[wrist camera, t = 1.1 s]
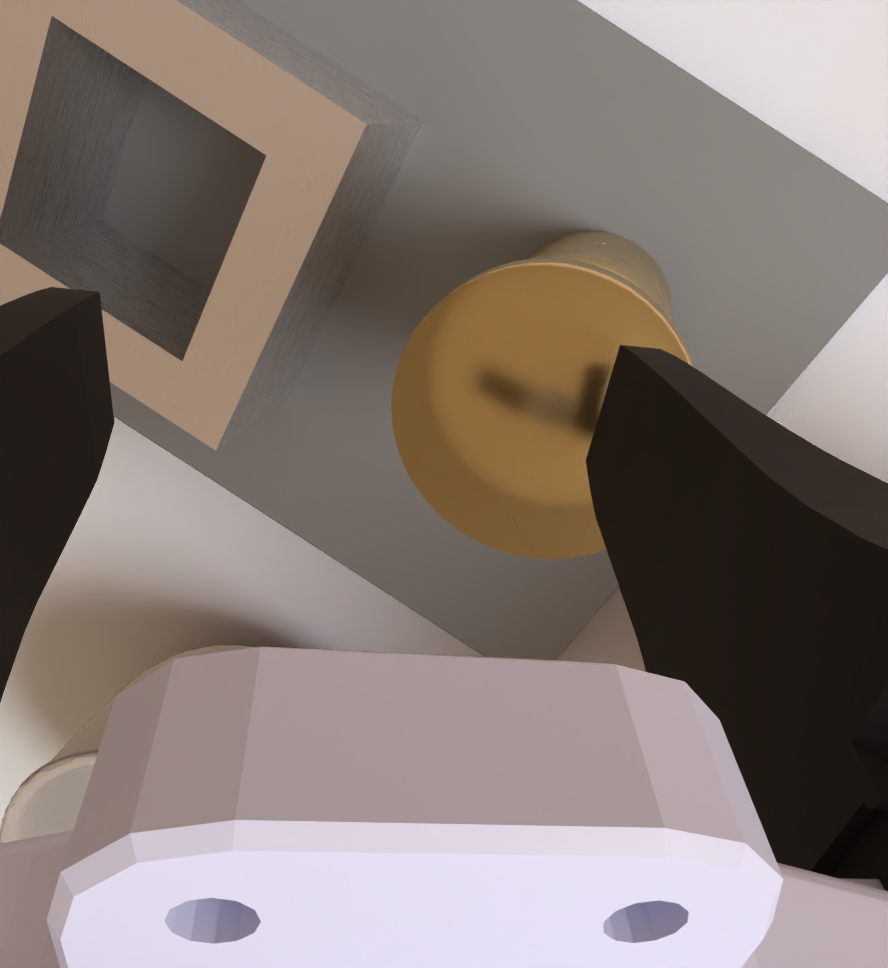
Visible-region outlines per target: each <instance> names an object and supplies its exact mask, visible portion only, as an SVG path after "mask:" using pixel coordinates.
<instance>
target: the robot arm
mask: <svg viewBox="0 0 888 968" xmlns="http://www.w3.org/2000/svg"><path fill="white" fill-rule="evenodd" d="M113 425H114V416H113V407H112V398H111V389H110V380H109V371H108V362H107V353H106V344H105V335H104V326H103V317H102V308H101V299H100V292H96V291H86V290H76V289H67V288H57V287H50V288H46V289H42V290H38V291H35V292H33V293H30V294H27V295H25V296H22V297H20V298H17V299H15V300H12V301H10V302H8V303H5V304H3V305H1V306H0V702H1V699H2V695H3V692H4V689H5V687H6V684H7V681H8V678H9V675H10V672H11V669H12V666H13V663H14V661H15V658H16V655H17V652H18V649H19V646H20V643H21V640H22V637H23V635H24V632H25V629H26V627H27V625H28V622H29V620H30V618H31V615H32V613H33V611H34V608H35V606H36V604H37V601H38V599H39V597H40V595H41V593H42V591H43V589H44V587H45V585H46V583H47V581H48V579H49V577H50V575H51V573H52V571H53V569H54V567H55V565H56V563H57V561H58V559H59V557H60V555H61V553H62V551H63V549H64V547H65V545H66V543H67V541H68V539H69V537H70V535H71V533H72V531H73V529H74V527H75V525H76V523H77V521H78V519H79V516H80V514H81V512H82V510H83V508H84V506H85V504H86V502H87V500H88V498H89V496H90V494H91V492H92V489H93V487H94V485H95V483H96V481H97V478H98V475H99V472H100V469H101V466H102V463H103V460H104V456H105V453H106V450H107V446H108V443H109V439H110V435H111V432H112V428H113ZM586 466H587V473H588V479H589V486H590V492H591V497H592V502H593V507H594V513H595V517H596V520H597V523H598V526H599V529H600V532H601V535H602V538H603V541H604V544H605V547H606V550H607V553H608V556H609V559H610V562H611V564H612V567H613V570H614V573H615V576H616V579H617V582H618V584H619V587H620V590H621V593H622V596H623V599H624V602H625V604H626V607H627V610H628V613H629V616H630V619H631V622H632V624H633V627H634V630H635V633H636V636H637V640H638V643H639V647H640V650H641V653H642V657H643V661H644V665H645V670H646V672H644V671H640V670H636V669H632V668H628V667H624V666H620V665H616V664H612V663H602V662H581V661H560V660H538V659H517V658H495V657H474V656H453V655H431V654H410V653H388V652H367V651H346V650H324V649H303V648H281V647H255V648H248V649H240V650H233V651H225V652H218V653H210V654H203V655H195V656H188V657H183V658H178V659H174V660H172V661H171V662H169V663H168V664H166V665H165V666H163V667H161V668H160V669H158V670H157V671H155V672H154V673H152V674H150V675H149V676H147V677H146V678H144V679H143V680H141V681H139V682H138V683H136V684H135V685H133V686H132V687H130V688H129V689H127V690H125V691H124V692H122V693H121V694H119V695H118V696H116V697H115V700H114V703H113V706H112V710H111V713H110V716H109V719H108V722H107V725H106V729H105V732H104V735H103V738H102V741H101V745H100V748H99V751H98V754H97V757H96V760H95V764H94V767H93V770H92V773H91V776H90V780H89V783H88V786H87V789H86V792H85V795H84V799H83V802H82V805H81V808H80V811H79V815H78V818H77V821H76V824H75V827H74V830H71V831H66V832H60V833H55V834H49V835H44V836H38V837H33V838H27V839H22V840H16V841H11V842H5V843H0V968H888V483H886V482H883V481H881V480H879V479H877V478H875V477H873V476H871V475H869V474H867V473H865V472H863V471H861V470H859V469H857V468H855V467H853V466H851V465H849V464H847V463H845V462H844V461H842V460H840V459H838V458H836V457H834V456H832V455H831V454H829V453H827V452H825V451H823V450H822V449H820V448H818V447H816V446H815V445H813V444H811V443H810V442H808V441H806V440H805V439H803V438H801V437H800V436H798V435H796V434H795V433H793V432H791V431H790V430H788V429H786V428H785V427H783V426H782V425H780V424H778V423H777V422H775V421H774V420H772V419H771V418H769V417H767V416H766V415H764V414H763V413H761V412H760V411H758V410H757V409H755V408H754V407H752V406H751V405H749V404H748V403H746V402H745V401H743V400H742V399H740V398H739V397H737V396H736V395H734V394H733V393H731V392H730V391H728V390H727V389H725V388H724V387H723V386H721V385H720V384H718V383H717V382H715V381H714V380H712V379H711V378H709V377H708V376H706V375H705V374H703V373H702V372H700V371H699V370H697V369H696V368H694V367H693V366H691V365H689V364H688V363H686V362H685V361H683V360H681V359H680V358H678V357H676V356H674V355H672V354H671V353H668V352H666V351H664V350H662V349H657V348H647V347H637V346H627V345H620V347H619V350H618V353H617V357H616V360H615V363H614V367H613V370H612V373H611V377H610V380H609V384H608V387H607V390H606V394H605V397H604V400H603V404H602V407H601V411H600V414H599V417H598V421H597V424H596V427H595V431H594V434H593V437H592V441H591V444H590V448H589V451H588V454H587V458H586Z"/></svg>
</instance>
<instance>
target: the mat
mask: <svg viewBox="0 0 888 968" xmlns="http://www.w3.org/2000/svg"><path fill="white" fill-rule="evenodd" d="M238 1H240V2H241V3H243V4H244V5H246V6H248V7H249V8H251V9H252V10H254V11H255V12H257V13H258V14H260V15H261V16H263V17H264V18H266V19H267V20H269V21H271V22H272V23H274V24H275V25H277V26H278V27H280V28H281V29H283V30H284V31H286V32H287V33H289V34H291V35H292V36H294V37H295V38H297V39H298V40H300V41H301V42H303V43H304V44H306V45H307V46H309V47H310V48H312V49H314V50H315V51H317V52H318V53H320V54H321V55H323V56H324V57H326V58H327V59H329V60H330V61H332V62H334V63H335V64H337V65H338V66H340V67H341V68H343V69H344V70H346V71H347V72H349V73H350V74H352V75H353V76H355V77H357V78H358V79H360V80H361V81H363V82H364V83H366V84H367V85H369V86H370V87H372V88H373V89H375V90H376V91H378V92H380V93H381V94H383V95H384V96H386V97H387V98H389V99H390V100H392V101H393V102H395V103H396V104H398V105H400V106H401V107H403V108H404V109H406V110H407V111H409V112H410V113H412V114H413V115H415V116H416V117H418V118H419V119H421V120H423V121H424V122H423V124H422V126H421V128H420V130H419V132H418V134H417V136H416V138H415V140H414V142H413V144H412V146H411V148H410V150H409V152H408V154H407V156H406V158H405V160H404V162H403V164H402V166H401V168H400V170H399V172H398V174H397V176H396V178H395V180H394V182H393V184H392V186H391V188H390V190H389V192H388V194H387V196H386V198H385V200H384V202H383V204H382V206H381V208H380V210H379V212H378V214H377V216H376V218H375V220H374V223H373V225H372V227H371V229H370V231H369V233H368V235H367V237H366V239H365V241H364V243H363V245H362V247H361V249H360V251H359V253H358V255H357V257H356V259H355V261H354V263H353V265H352V267H351V269H350V271H349V273H348V275H347V277H346V279H345V281H344V283H343V285H342V287H341V289H340V291H339V293H338V295H337V297H336V299H335V301H334V303H333V305H332V307H331V309H330V311H329V313H328V315H327V317H326V319H325V321H324V323H323V325H322V327H321V329H320V331H319V333H318V335H317V337H316V339H315V341H314V344H313V346H312V348H311V350H310V352H309V354H308V356H307V358H306V360H305V362H304V364H303V366H302V368H301V370H300V372H299V374H298V376H297V378H296V380H295V382H294V384H293V386H292V388H291V390H290V392H289V394H288V396H287V398H286V400H284V401H283V402H282V403H280V404H279V405H278V406H276V407H275V408H273V409H272V410H271V411H269V412H268V413H267V414H265V415H264V416H263V417H261V418H260V419H258V420H257V421H256V422H254V423H253V424H252V425H250V426H249V427H248V428H246V429H245V430H243V431H242V432H241V433H239V434H238V435H237V436H235V437H234V438H233V439H231V440H230V441H228V442H227V443H226V444H224V445H223V446H222V447H220V448H219V449H218V450H214V449H213V448H211V447H209V446H208V445H206V444H205V443H203V442H202V441H200V440H199V439H197V438H196V437H194V436H192V435H191V434H189V433H188V432H186V431H185V430H183V429H182V428H180V427H179V426H177V425H176V424H174V423H172V422H171V421H169V420H168V419H166V418H165V417H163V416H162V415H160V414H159V413H157V412H155V411H154V410H152V409H151V408H149V407H148V406H146V405H145V404H143V403H142V402H140V401H138V400H137V399H135V398H134V397H132V396H131V395H129V394H128V393H126V392H125V391H123V390H121V389H120V388H118V387H117V386H115V385H114V384H112V383H111V382H110V389H111V398H112V407H113V416H114V417H116V418H117V419H119V420H120V421H122V422H123V423H125V424H126V425H128V426H130V427H131V428H133V429H134V430H136V431H137V432H139V433H140V434H142V435H143V436H145V437H147V438H148V439H150V440H151V441H153V442H154V443H156V444H157V445H159V446H160V447H162V448H164V449H165V450H167V451H168V452H170V453H171V454H173V455H174V456H176V457H177V458H179V459H181V460H182V461H184V462H185V463H187V464H188V465H190V466H191V467H193V468H194V469H196V470H197V471H199V472H201V473H202V474H204V475H205V476H207V477H208V478H210V479H211V480H213V481H214V482H216V483H218V484H219V485H221V486H222V487H224V488H225V489H227V490H228V491H230V492H231V493H233V494H235V495H236V496H238V497H239V498H241V499H242V500H244V501H245V502H247V503H248V504H250V505H252V506H253V507H255V508H256V509H258V510H259V511H261V512H262V513H264V514H265V515H267V516H268V517H270V518H272V519H273V520H275V521H276V522H278V523H279V524H281V525H282V526H284V527H285V528H287V529H289V530H290V531H292V532H293V533H295V534H296V535H298V536H299V537H301V538H302V539H304V540H306V541H307V542H309V543H310V544H312V545H313V546H315V547H316V548H318V549H319V550H321V551H323V552H324V553H326V554H327V555H329V556H330V557H332V558H333V559H335V560H336V561H338V562H340V563H341V564H343V565H344V566H346V567H347V568H349V569H350V570H352V571H353V572H355V573H356V574H358V575H360V576H361V577H363V578H364V579H366V580H367V581H369V582H370V583H372V584H373V585H375V586H377V587H378V588H380V589H381V590H383V591H384V592H386V593H387V594H389V595H390V596H392V597H394V598H395V599H397V600H398V601H400V602H401V603H403V604H404V605H406V606H407V607H409V608H411V609H412V610H414V611H415V612H417V613H418V614H420V615H421V616H423V617H424V618H426V619H427V620H429V621H431V622H432V623H434V624H435V625H437V626H438V627H440V628H441V629H443V630H444V631H446V632H448V633H449V634H451V635H452V636H454V637H455V638H457V639H458V640H460V641H461V642H463V643H465V644H466V645H468V646H469V647H471V648H472V649H474V650H475V651H477V652H478V653H480V654H482V655H483V656H485V657H495V658H517V659H538V660H556V659H557V658H558V656H559V655H560V654H561V653H562V652H563V651H564V649H565V648H566V647H567V646H568V645H569V644H570V642H571V641H572V640H573V639H574V638H575V637H576V635H577V634H578V633H579V632H580V631H581V630H582V628H583V627H584V626H585V625H586V624H587V623H588V622H589V620H590V619H591V618H592V617H593V616H594V615H595V613H596V612H597V611H598V610H599V609H600V608H601V606H602V605H603V604H604V603H605V602H606V601H607V599H608V598H609V597H610V596H611V595H612V594H613V592H614V591H615V590H616V589H617V588H618V587H619V584H618V582H617V579H616V576H615V573H614V570H613V567H612V564H611V562H610V559H609V556H608V553H607V550H604V551H601V552H597V553H594V554H591V555H587V556H581V557H575V558H568V559H538V558H529V557H523V556H518V555H513V554H509V553H506V552H503V551H500V550H496V549H494V548H491V547H489V546H487V545H484V544H482V543H480V542H478V541H476V540H474V539H472V538H471V537H469V536H467V535H465V534H464V533H462V532H461V531H459V530H458V529H457V528H455V527H454V526H452V525H451V524H450V523H448V522H447V521H446V520H445V519H444V518H443V517H442V516H441V515H440V514H438V513H437V512H436V511H435V510H434V509H433V508H432V506H431V505H430V504H429V503H428V502H427V501H426V500H425V498H424V497H423V496H422V495H421V493H420V492H419V490H418V489H417V487H416V486H415V484H414V483H413V481H412V480H411V478H410V476H409V474H408V472H407V470H406V468H405V466H404V464H403V461H402V459H401V456H400V453H399V450H398V448H397V444H396V440H395V435H394V431H393V423H392V413H391V405H392V389H393V383H394V377H395V373H396V369H397V366H398V363H399V360H400V357H401V354H402V352H403V350H404V348H405V346H406V344H407V342H408V340H409V338H410V337H411V335H412V333H413V332H414V330H415V329H416V327H417V326H418V324H419V323H420V322H421V321H422V320H423V318H424V317H425V316H426V315H427V314H428V313H429V312H430V310H431V309H432V308H433V307H435V306H436V305H437V304H438V303H439V302H440V301H442V300H443V299H444V298H445V297H446V296H447V295H449V294H450V293H451V292H452V291H454V290H455V289H456V288H457V287H459V286H460V285H462V284H463V283H465V282H466V281H468V280H469V279H471V278H472V277H474V276H476V275H478V274H480V273H482V272H484V271H486V270H489V269H491V268H493V267H496V266H499V265H502V264H506V263H509V262H512V261H518V260H524V259H529V258H530V257H531V256H532V255H533V254H534V253H535V252H536V251H538V250H539V249H540V248H541V247H542V246H544V245H546V244H547V243H549V242H550V241H552V240H554V239H556V238H558V237H561V236H563V235H567V234H570V233H574V232H580V231H604V232H609V233H613V234H617V235H619V236H622V237H624V238H627V239H629V240H630V241H632V242H634V243H636V244H637V245H639V246H640V247H641V248H643V249H644V250H645V251H646V252H647V253H648V254H649V255H650V256H651V257H652V258H653V259H654V260H655V262H656V263H657V264H658V266H659V267H660V269H661V271H662V273H663V274H664V276H665V279H666V281H667V284H668V286H669V290H670V295H671V301H672V322H673V323H674V325H675V326H676V328H677V329H678V331H679V333H680V335H681V337H682V338H683V340H684V342H685V344H686V346H687V349H688V351H689V354H690V356H691V359H692V362H693V365H694V368H696V369H697V370H699V371H700V372H702V373H703V374H705V375H706V376H708V377H709V378H711V379H712V380H714V381H715V382H717V383H718V384H720V385H721V386H723V387H724V388H725V389H727V390H728V391H730V392H731V393H733V394H734V395H736V396H737V397H739V398H740V399H742V400H743V401H745V402H746V403H748V404H749V405H751V406H752V407H754V408H755V409H757V410H758V411H760V412H761V413H763V414H764V415H766V414H767V413H768V412H769V411H770V409H771V408H772V407H773V406H774V405H775V404H776V402H777V401H778V400H779V399H780V398H781V397H782V395H783V394H784V393H785V392H786V391H787V390H788V388H789V387H790V386H791V385H792V384H793V383H794V381H795V380H796V379H797V378H798V377H799V376H800V374H801V373H802V372H803V371H804V370H805V369H806V367H807V366H808V365H809V364H810V363H811V362H812V360H813V359H814V358H815V357H816V356H817V355H818V353H819V352H820V351H821V350H822V349H823V348H824V346H825V345H826V344H827V343H828V342H829V341H830V339H831V338H832V337H833V336H834V335H835V334H836V332H837V331H838V330H839V329H840V328H841V327H842V326H843V324H844V323H845V322H846V321H847V320H848V319H849V317H850V316H851V315H852V314H853V313H854V312H855V310H856V309H857V308H858V307H859V306H860V305H861V303H862V302H863V301H864V300H865V299H866V298H867V296H868V295H869V294H870V293H871V292H872V291H873V289H874V288H875V287H876V286H877V285H878V284H879V282H880V281H881V280H882V279H883V278H884V277H885V275H886V274H887V273H888V203H887V202H885V201H884V200H882V199H881V198H879V197H878V196H876V195H874V194H873V193H871V192H870V191H868V190H867V189H865V188H864V187H862V186H861V185H859V184H858V183H856V182H855V181H853V180H852V179H850V178H848V177H847V176H845V175H844V174H842V173H841V172H839V171H838V170H836V169H835V168H833V167H832V166H830V165H829V164H827V163H825V162H824V161H822V160H821V159H819V158H818V157H816V156H815V155H813V154H812V153H810V152H809V151H807V150H806V149H804V148H803V147H801V146H799V145H798V144H796V143H795V142H793V141H792V140H790V139H789V138H787V137H786V136H784V135H783V134H781V133H780V132H778V131H776V130H775V129H773V128H772V127H770V126H769V125H767V124H766V123H764V122H763V121H761V120H760V119H758V118H757V117H755V116H753V115H752V114H750V113H749V112H747V111H746V110H744V109H743V108H741V107H740V106H738V105H737V104H735V103H734V102H732V101H731V100H729V99H727V98H726V97H724V96H723V95H721V94H720V93H718V92H717V91H715V90H714V89H712V88H711V87H709V86H708V85H706V84H704V83H703V82H701V81H700V80H698V79H697V78H695V77H694V76H692V75H691V74H689V73H688V72H686V71H685V70H683V69H681V68H680V67H678V66H677V65H675V64H674V63H672V62H671V61H669V60H668V59H666V58H665V57H663V56H662V55H660V54H659V53H657V52H655V51H654V50H652V49H651V48H649V47H648V46H646V45H645V44H643V43H642V42H640V41H639V40H637V39H636V38H634V37H632V36H631V35H629V34H628V33H626V32H625V31H623V30H622V29H620V28H619V27H617V26H616V25H614V24H613V23H611V22H610V21H608V20H606V19H605V18H603V17H602V16H600V15H599V14H597V13H596V12H594V11H593V10H591V9H590V8H588V7H587V6H585V5H583V4H582V3H580V2H579V1H577V0H238ZM266 156H267V155H265V154H263V153H262V152H260V151H259V150H257V149H256V148H254V147H253V146H251V145H250V144H248V143H247V142H245V141H243V140H242V139H240V138H239V137H237V136H236V135H234V134H233V133H231V132H230V131H228V130H227V129H225V128H223V127H222V126H220V125H219V124H217V123H216V122H214V121H213V120H211V119H210V118H208V117H207V116H205V115H203V114H202V113H200V112H199V111H197V110H196V109H194V108H193V107H191V106H190V105H188V104H187V103H185V102H183V101H182V100H180V99H179V98H177V97H176V96H174V95H173V94H171V93H170V92H168V91H167V90H165V89H163V88H162V87H160V86H159V85H157V84H156V83H154V82H153V81H151V80H150V79H148V78H146V81H145V84H144V87H143V91H142V94H141V97H140V100H139V103H138V106H137V109H136V113H135V116H134V119H133V122H132V125H131V128H130V131H129V135H128V138H127V141H126V144H125V147H124V150H123V153H122V157H121V160H120V163H119V166H118V169H117V172H116V175H115V179H114V182H113V185H112V188H111V191H110V194H109V197H108V201H107V204H106V207H105V210H104V213H103V216H102V219H101V220H103V221H104V222H106V223H107V224H109V225H110V226H112V227H113V228H115V229H117V230H118V231H120V232H121V233H123V234H124V235H126V236H127V237H129V238H130V239H132V240H134V241H135V242H137V243H138V244H140V245H141V246H143V247H144V248H146V249H147V250H149V251H150V252H152V253H154V254H155V255H157V256H158V257H160V258H161V259H163V260H164V261H166V262H167V263H169V264H170V265H172V266H174V267H175V268H177V269H178V270H180V271H181V272H183V273H184V274H186V275H187V276H189V277H190V278H192V279H194V280H195V281H197V282H198V283H200V284H201V285H203V286H204V287H206V288H207V289H209V290H212V288H213V285H214V283H215V280H216V278H217V275H218V273H219V271H220V268H221V266H222V263H223V261H224V258H225V256H226V253H227V251H228V249H229V246H230V244H231V241H232V239H233V236H234V234H235V231H236V229H237V227H238V224H239V222H240V219H241V217H242V214H243V212H244V209H245V207H246V204H247V202H248V200H249V197H250V195H251V192H252V190H253V187H254V185H255V182H256V180H257V178H258V175H259V173H260V170H261V168H262V165H263V163H264V160H265V158H266Z"/></svg>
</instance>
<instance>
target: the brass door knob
mask: <svg viewBox="0 0 888 968" xmlns="http://www.w3.org/2000/svg"><path fill="white" fill-rule="evenodd" d="M620 345H627V346H637V347H647V348H657V349H662V350H664V351H666V352H668V353H671V354H672V355H674V356H676V357H678V358H680V359H681V360H683V361H685V362H686V363H688V364H689V365H691V366H693V367H694V365H693V362H692V359H691V356H690V354H689V351H688V349H687V346H686V344H685V342H684V340H683V338H682V337H681V335H680V333H679V331H678V329H677V328H676V326H675V325H674V323H673V322H672V301H671V295H670V290H669V286H668V284H667V281H666V279H665V276H664V274H663V273H662V271H661V269H660V267H659V266H658V264H657V263H656V262H655V260H654V259H653V258H652V257H651V256H650V255H649V254H648V253H647V252H646V251H645V250H644V249H643V248H641V247H640V246H639V245H637V244H636V243H634V242H632V241H630V240H629V239H627V238H624V237H622V236H619V235H617V234H613V233H609V232H604V231H580V232H574V233H570V234H567V235H563V236H561V237H558V238H556V239H554V240H552V241H550V242H549V243H547V244H546V245H544V246H542V247H541V248H540V249H539V250H538V251H536V252H535V253H534V254H533V255H532V256H531V257H530V258H529V259H524V260H518V261H512V262H509V263H506V264H502V265H499V266H496V267H493V268H491V269H489V270H486V271H484V272H482V273H480V274H478V275H476V276H474V277H472V278H471V279H469V280H468V281H466V282H465V283H463V284H462V285H460V286H459V287H457V288H456V289H455V290H454V291H452V292H451V293H450V294H449V295H447V296H446V297H445V298H444V299H443V300H442V301H440V302H439V303H438V304H437V305H436V306H435V307H433V308H432V309H431V310H430V312H429V313H428V314H427V315H426V316H425V317H424V318H423V320H422V321H421V322H420V323H419V324H418V326H417V327H416V329H415V330H414V332H413V333H412V335H411V337H410V338H409V340H408V342H407V344H406V346H405V348H404V350H403V352H402V354H401V357H400V360H399V363H398V366H397V369H396V373H395V377H394V383H393V389H392V405H391V413H392V423H393V431H394V435H395V440H396V444H397V448H398V450H399V453H400V456H401V459H402V461H403V464H404V466H405V468H406V470H407V472H408V474H409V476H410V478H411V480H412V481H413V483H414V484H415V486H416V487H417V489H418V490H419V492H420V493H421V495H422V496H423V497H424V498H425V500H426V501H427V502H428V503H429V504H430V505H431V506H432V508H433V509H434V510H435V511H436V512H437V513H438V514H440V515H441V516H442V517H443V518H444V519H445V520H446V521H447V522H448V523H450V524H451V525H452V526H454V527H455V528H457V529H458V530H459V531H461V532H462V533H464V534H465V535H467V536H469V537H471V538H472V539H474V540H476V541H478V542H480V543H482V544H484V545H487V546H489V547H491V548H494V549H496V550H500V551H503V552H506V553H509V554H513V555H518V556H523V557H529V558H538V559H568V558H575V557H581V556H587V555H591V554H594V553H597V552H601V551H604V550H606V547H605V544H604V541H603V538H602V535H601V532H600V529H599V526H598V523H597V520H596V517H595V513H594V507H593V502H592V497H591V492H590V486H589V479H588V473H587V466H586V458H587V454H588V451H589V448H590V444H591V441H592V437H593V434H594V431H595V427H596V424H597V421H598V417H599V414H600V411H601V407H602V404H603V400H604V397H605V394H606V390H607V387H608V384H609V380H610V377H611V373H612V370H613V367H614V363H615V360H616V357H617V353H618V350H619V347H620Z"/></svg>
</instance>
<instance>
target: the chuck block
mask: <svg viewBox="0 0 888 968" xmlns="http://www.w3.org/2000/svg"><path fill="white" fill-rule="evenodd" d="M146 78H148V79H150V80H151V81H153V82H154V83H156V84H157V85H159V86H160V87H162V88H163V89H165V90H167V91H168V92H170V93H171V94H173V95H174V96H176V97H177V98H179V99H180V100H182V101H183V102H185V103H187V104H188V105H190V106H191V107H193V108H194V109H196V110H197V111H199V112H200V113H202V114H203V115H205V116H207V117H208V118H210V119H211V120H213V121H214V122H216V123H217V124H219V125H220V126H222V127H223V128H225V129H227V130H228V131H230V132H231V133H233V134H234V135H236V136H237V137H239V138H240V139H242V140H243V141H245V142H247V143H248V144H250V145H251V146H253V147H254V148H256V149H257V150H259V151H260V152H262V153H263V154H265V155H267V156H266V158H265V160H264V163H263V165H262V168H261V170H260V173H259V175H258V178H257V180H256V182H255V185H254V187H253V190H252V192H251V195H250V197H249V200H248V202H247V204H246V207H245V209H244V212H243V214H242V217H241V219H240V222H239V224H238V227H237V229H236V231H235V234H234V236H233V239H232V241H231V244H230V246H229V249H228V251H227V253H226V256H225V258H224V261H223V263H222V266H221V268H220V271H219V273H218V275H217V278H216V280H215V283H214V285H213V288H212V290H209V289H207V288H206V287H204V286H203V285H201V284H200V283H198V282H197V281H195V280H194V279H192V278H190V277H189V276H187V275H186V274H184V273H183V272H181V271H180V270H178V269H177V268H175V267H174V266H172V265H170V264H169V263H167V262H166V261H164V260H163V259H161V258H160V257H158V256H157V255H155V254H154V253H152V252H150V251H149V250H147V249H146V248H144V247H143V246H141V245H140V244H138V243H137V242H135V241H134V240H132V239H130V238H129V237H127V236H126V235H124V234H123V233H121V232H120V231H118V230H117V229H115V228H113V227H112V226H110V225H109V224H107V223H106V222H104V221H103V220H101V219H102V216H103V213H104V210H105V207H106V204H107V201H108V197H109V194H110V191H111V188H112V185H113V182H114V179H115V175H116V172H117V169H118V166H119V163H120V160H121V157H122V153H123V150H124V147H125V144H126V141H127V138H128V135H129V131H130V128H131V125H132V122H133V119H134V116H135V113H136V109H137V106H138V103H139V100H140V97H141V94H142V91H143V87H144V84H145V81H146ZM423 122H424V121H423V120H421V119H419V118H418V117H416V116H415V115H413V114H412V113H410V112H409V111H407V110H406V109H404V108H403V107H401V106H400V105H398V104H396V103H395V102H393V101H392V100H390V99H389V98H387V97H386V96H384V95H383V94H381V93H380V92H378V91H376V90H375V89H373V88H372V87H370V86H369V85H367V84H366V83H364V82H363V81H361V80H360V79H358V78H357V77H355V76H353V75H352V74H350V73H349V72H347V71H346V70H344V69H343V68H341V67H340V66H338V65H337V64H335V63H334V62H332V61H330V60H329V59H327V58H326V57H324V56H323V55H321V54H320V53H318V52H317V51H315V50H314V49H312V48H310V47H309V46H307V45H306V44H304V43H303V42H301V41H300V40H298V39H297V38H295V37H294V36H292V35H291V34H289V33H287V32H286V31H284V30H283V29H281V28H280V27H278V26H277V25H275V24H274V23H272V22H271V21H269V20H267V19H266V18H264V17H263V16H261V15H260V14H258V13H257V12H255V11H254V10H252V9H251V8H249V7H248V6H246V5H244V4H243V3H241V2H240V1H238V0H0V306H1V305H3V304H5V303H8V302H10V301H12V300H15V299H17V298H20V297H22V296H25V295H27V294H30V293H33V292H35V291H38V290H42V289H46V288H50V287H57V288H67V289H76V290H86V291H96V292H100V299H101V308H102V317H103V326H104V335H105V344H106V353H107V362H108V371H109V380H110V382H111V383H112V384H114V385H115V386H117V387H118V388H120V389H121V390H123V391H125V392H126V393H128V394H129V395H131V396H132V397H134V398H135V399H137V400H138V401H140V402H142V403H143V404H145V405H146V406H148V407H149V408H151V409H152V410H154V411H155V412H157V413H159V414H160V415H162V416H163V417H165V418H166V419H168V420H169V421H171V422H172V423H174V424H176V425H177V426H179V427H180V428H182V429H183V430H185V431H186V432H188V433H189V434H191V435H192V436H194V437H196V438H197V439H199V440H200V441H202V442H203V443H205V444H206V445H208V446H209V447H211V448H213V449H214V450H218V449H219V448H220V447H222V446H223V445H224V444H226V443H227V442H228V441H230V440H231V439H233V438H234V437H235V436H237V435H238V434H239V433H241V432H242V431H243V430H245V429H246V428H248V427H249V426H250V425H252V424H253V423H254V422H256V421H257V420H258V419H260V418H261V417H263V416H264V415H265V414H267V413H268V412H269V411H271V410H272V409H273V408H275V407H276V406H278V405H279V404H280V403H282V402H283V401H284V400H286V398H287V396H288V394H289V392H290V390H291V388H292V386H293V384H294V382H295V380H296V378H297V376H298V374H299V372H300V370H301V368H302V366H303V364H304V362H305V360H306V358H307V356H308V354H309V352H310V350H311V348H312V346H313V344H314V341H315V339H316V337H317V335H318V333H319V331H320V329H321V327H322V325H323V323H324V321H325V319H326V317H327V315H328V313H329V311H330V309H331V307H332V305H333V303H334V301H335V299H336V297H337V295H338V293H339V291H340V289H341V287H342V285H343V283H344V281H345V279H346V277H347V275H348V273H349V271H350V269H351V267H352V265H353V263H354V261H355V259H356V257H357V255H358V253H359V251H360V249H361V247H362V245H363V243H364V241H365V239H366V237H367V235H368V233H369V231H370V229H371V227H372V225H373V223H374V220H375V218H376V216H377V214H378V212H379V210H380V208H381V206H382V204H383V202H384V200H385V198H386V196H387V194H388V192H389V190H390V188H391V186H392V184H393V182H394V180H395V178H396V176H397V174H398V172H399V170H400V168H401V166H402V164H403V162H404V160H405V158H406V156H407V154H408V152H409V150H410V148H411V146H412V144H413V142H414V140H415V138H416V136H417V134H418V132H419V130H420V128H421V126H422V124H423Z"/></svg>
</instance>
